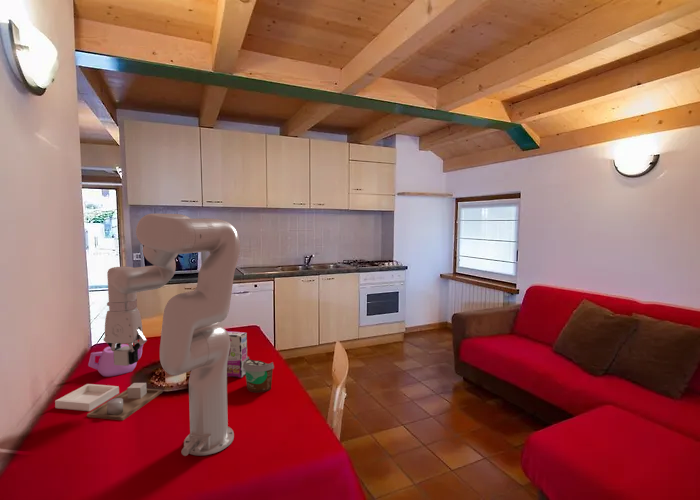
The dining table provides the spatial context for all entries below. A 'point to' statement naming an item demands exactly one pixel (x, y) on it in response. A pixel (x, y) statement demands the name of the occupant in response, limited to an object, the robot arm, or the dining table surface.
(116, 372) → the teapot
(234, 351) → the candy bar box
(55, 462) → the dining table surface
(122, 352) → the stone cube
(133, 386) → the white cube
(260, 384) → the food container
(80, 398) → the dish
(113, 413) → the pebble round
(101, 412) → the walnut tray
